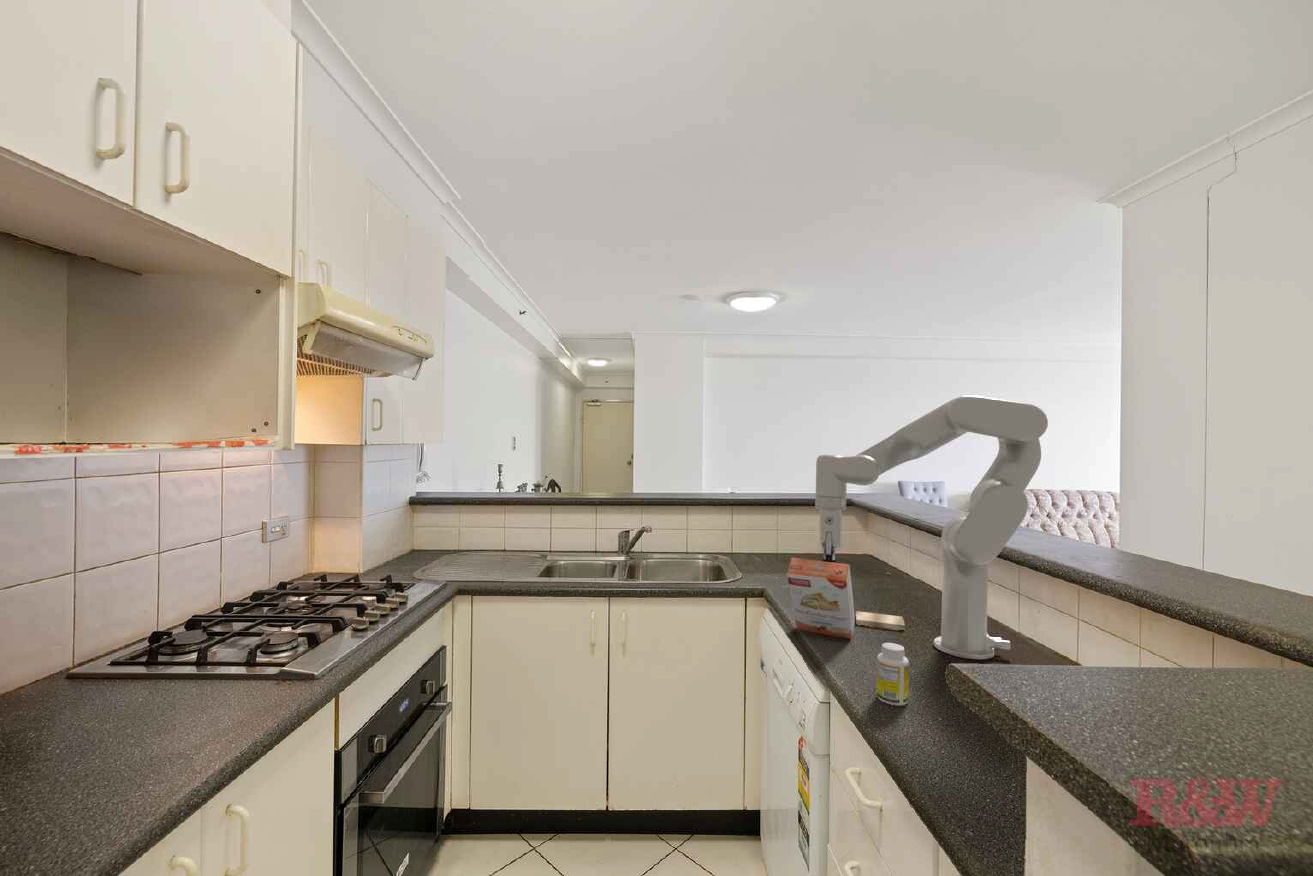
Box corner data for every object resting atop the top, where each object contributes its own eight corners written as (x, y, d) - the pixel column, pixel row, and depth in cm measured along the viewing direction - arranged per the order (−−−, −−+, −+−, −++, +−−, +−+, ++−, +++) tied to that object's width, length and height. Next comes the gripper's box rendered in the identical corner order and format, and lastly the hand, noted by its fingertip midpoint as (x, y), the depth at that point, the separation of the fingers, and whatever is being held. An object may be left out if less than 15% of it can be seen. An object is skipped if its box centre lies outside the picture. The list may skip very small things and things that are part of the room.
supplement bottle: (898, 693, 108) (899, 641, 108) (914, 707, 102) (915, 651, 102) (870, 693, 107) (872, 641, 107) (885, 707, 102) (886, 652, 102)
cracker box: (795, 631, 143) (785, 573, 133) (800, 613, 147) (791, 555, 137) (852, 641, 136) (846, 581, 126) (855, 622, 141) (850, 562, 131)
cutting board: (902, 622, 152) (902, 616, 152) (904, 631, 144) (905, 625, 144) (856, 616, 156) (856, 611, 156) (856, 625, 148) (856, 619, 148)
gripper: (845, 507, 133) (843, 583, 133) (846, 501, 147) (844, 570, 147) (813, 505, 136) (811, 579, 135) (817, 499, 150) (815, 567, 150)
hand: (828, 574), depth 141 cm, fingers closed
